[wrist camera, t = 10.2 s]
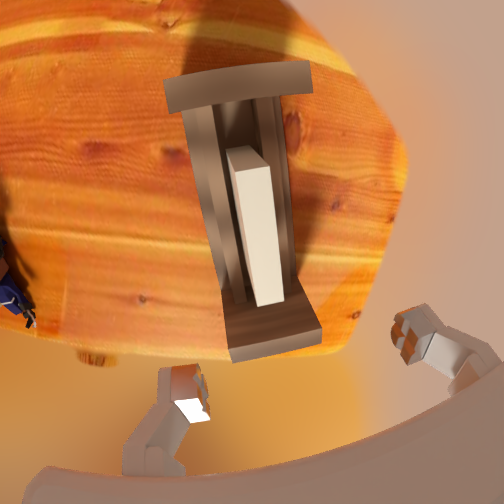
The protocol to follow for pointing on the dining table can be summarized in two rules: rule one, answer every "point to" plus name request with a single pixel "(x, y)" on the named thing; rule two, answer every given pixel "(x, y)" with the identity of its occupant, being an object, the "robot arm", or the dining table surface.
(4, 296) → the toy
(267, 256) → the door panel
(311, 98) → the dining table surface
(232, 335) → the wooden rack
